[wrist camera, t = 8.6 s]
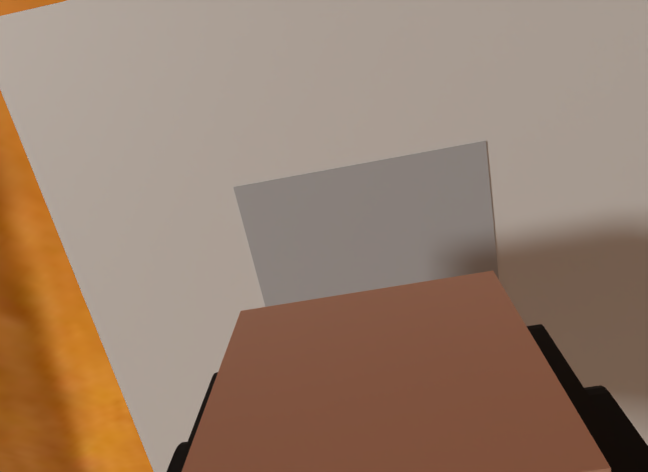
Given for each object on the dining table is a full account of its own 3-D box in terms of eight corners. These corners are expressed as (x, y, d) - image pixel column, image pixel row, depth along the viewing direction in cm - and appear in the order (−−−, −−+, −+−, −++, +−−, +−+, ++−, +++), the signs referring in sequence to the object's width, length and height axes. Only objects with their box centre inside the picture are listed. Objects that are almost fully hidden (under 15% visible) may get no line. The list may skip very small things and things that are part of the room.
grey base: (646, -118, 15) (716, -150, 12) (640, 412, 21) (685, 473, 18) (35, 21, 17) (-28, 22, 14) (197, 468, 23) (176, 531, 20)
